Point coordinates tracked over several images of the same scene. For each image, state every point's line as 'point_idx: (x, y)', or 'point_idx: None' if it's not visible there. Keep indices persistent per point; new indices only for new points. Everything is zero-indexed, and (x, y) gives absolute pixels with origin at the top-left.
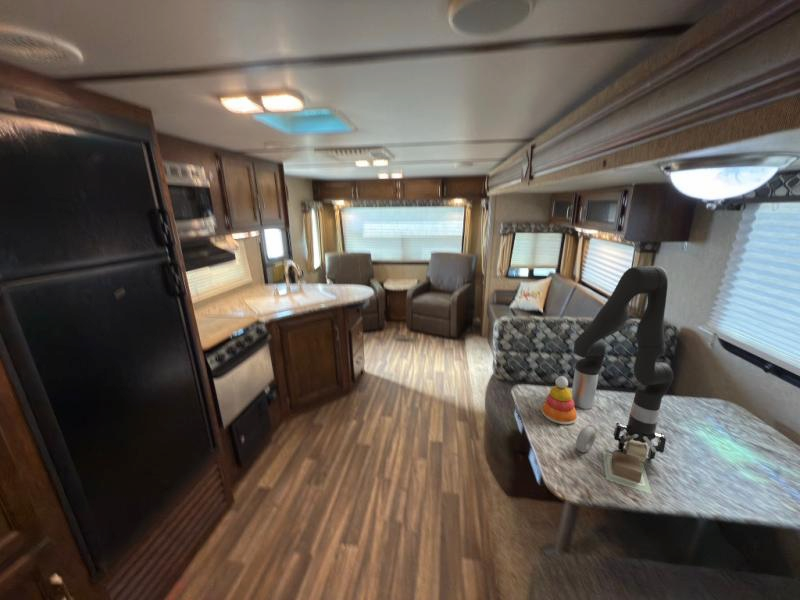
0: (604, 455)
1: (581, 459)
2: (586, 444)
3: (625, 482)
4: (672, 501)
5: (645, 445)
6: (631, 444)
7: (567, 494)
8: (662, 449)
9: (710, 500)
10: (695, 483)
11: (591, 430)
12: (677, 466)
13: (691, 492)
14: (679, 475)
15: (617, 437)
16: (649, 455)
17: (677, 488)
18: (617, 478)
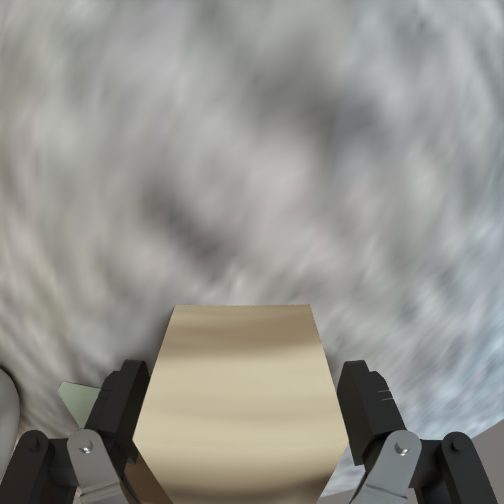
0: (78, 418)
1: (33, 426)
2: (4, 470)
3: None
4: (336, 484)
5: (323, 480)
6: (186, 498)
7: (79, 496)
8: (435, 494)
9: (467, 423)
10: (483, 379)
11: None
12: (489, 306)
13: (432, 430)
14: (454, 372)
15: (64, 493)
16: (346, 413)
17: None
18: None
